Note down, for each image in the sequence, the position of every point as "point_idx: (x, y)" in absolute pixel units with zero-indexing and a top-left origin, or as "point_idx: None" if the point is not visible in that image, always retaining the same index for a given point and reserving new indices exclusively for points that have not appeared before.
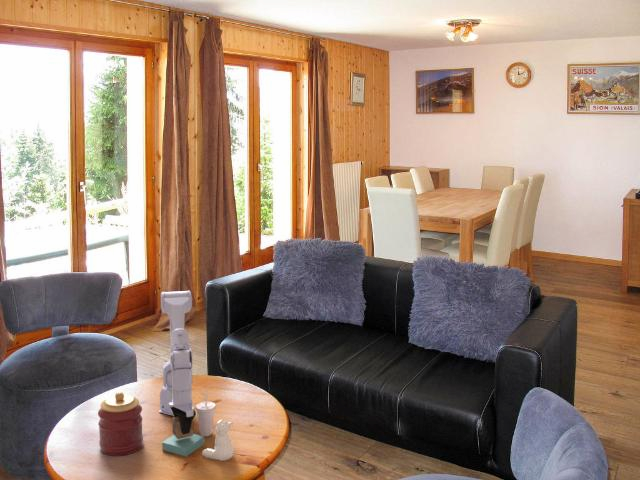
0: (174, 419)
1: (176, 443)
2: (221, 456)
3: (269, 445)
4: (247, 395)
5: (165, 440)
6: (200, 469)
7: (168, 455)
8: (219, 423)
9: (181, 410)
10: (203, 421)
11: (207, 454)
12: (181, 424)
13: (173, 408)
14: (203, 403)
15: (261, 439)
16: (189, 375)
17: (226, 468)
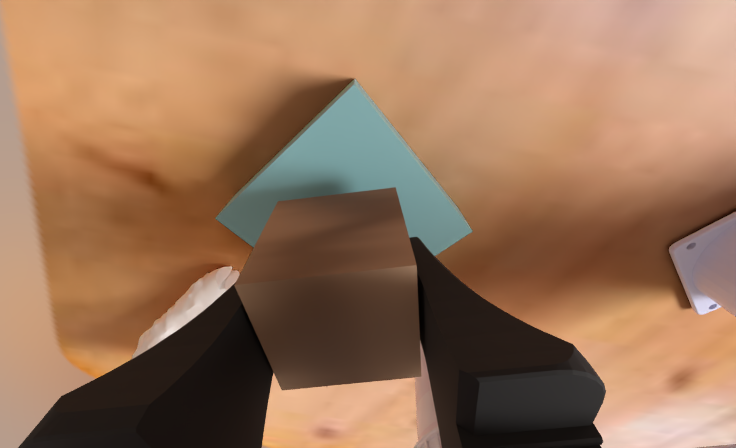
0: (358, 276)
1: (304, 179)
2: (142, 336)
3: (266, 432)
4: (631, 443)
5: (373, 115)
6: (90, 232)
7: (269, 103)
8: None
9: (436, 393)
10: (422, 367)
11: (188, 290)
12: (196, 317)
13: (453, 380)
14: None
15: (312, 425)
16: None
17: (105, 319)
